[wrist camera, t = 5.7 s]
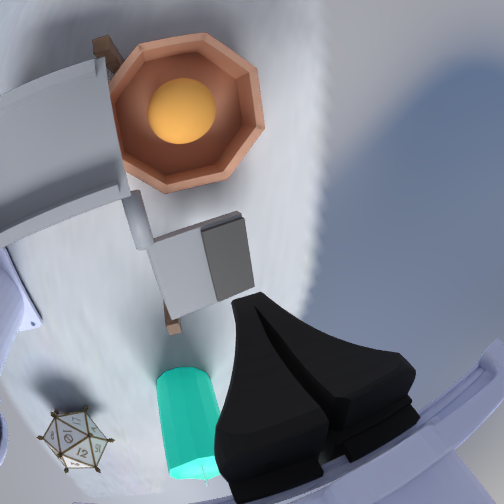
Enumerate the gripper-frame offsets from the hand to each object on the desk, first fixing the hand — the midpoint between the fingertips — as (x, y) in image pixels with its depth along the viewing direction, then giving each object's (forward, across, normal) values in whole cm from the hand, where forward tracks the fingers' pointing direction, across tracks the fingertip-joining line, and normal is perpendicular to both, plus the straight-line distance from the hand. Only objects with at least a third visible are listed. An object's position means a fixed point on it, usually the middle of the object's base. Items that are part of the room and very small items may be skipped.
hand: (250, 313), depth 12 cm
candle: (+11, +6, +16) cm, 21 cm away
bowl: (+10, 0, -9) cm, 14 cm away
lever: (+5, +5, -5) cm, 9 cm away
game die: (+11, +22, +18) cm, 30 cm away
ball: (+8, 0, -9) cm, 12 cm away
